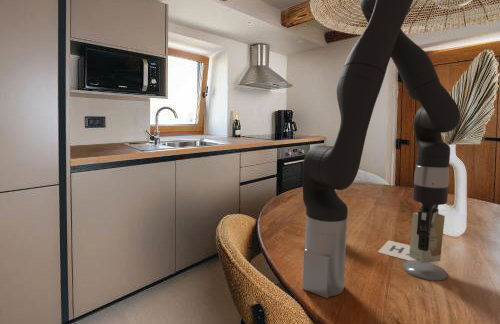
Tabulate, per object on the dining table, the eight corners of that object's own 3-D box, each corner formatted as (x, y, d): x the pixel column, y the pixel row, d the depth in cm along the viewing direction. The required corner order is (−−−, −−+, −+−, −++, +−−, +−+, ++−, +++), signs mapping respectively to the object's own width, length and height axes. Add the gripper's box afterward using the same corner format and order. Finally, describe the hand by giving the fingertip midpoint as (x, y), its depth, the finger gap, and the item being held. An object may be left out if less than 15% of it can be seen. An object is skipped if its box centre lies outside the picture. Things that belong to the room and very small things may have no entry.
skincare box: (421, 264, 75) (425, 217, 73) (408, 256, 79) (411, 212, 77) (441, 261, 76) (445, 215, 75) (427, 253, 80) (431, 210, 79)
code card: (422, 264, 81) (422, 264, 81) (377, 252, 89) (377, 251, 89) (430, 250, 90) (430, 250, 90) (388, 240, 98) (388, 240, 98)
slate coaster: (444, 285, 71) (444, 283, 71) (398, 272, 77) (398, 269, 77) (449, 269, 78) (449, 267, 78) (407, 258, 85) (407, 256, 85)
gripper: (444, 190, 67) (438, 258, 69) (451, 181, 78) (446, 240, 80) (408, 185, 72) (403, 250, 74) (419, 177, 83) (415, 234, 85)
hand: (425, 245), depth 77 cm, fingers closed on skincare box, 7 cm apart
